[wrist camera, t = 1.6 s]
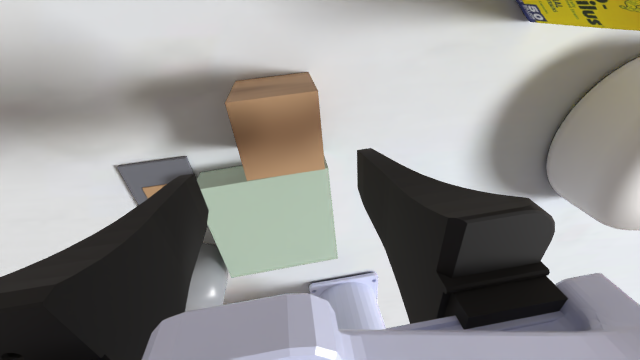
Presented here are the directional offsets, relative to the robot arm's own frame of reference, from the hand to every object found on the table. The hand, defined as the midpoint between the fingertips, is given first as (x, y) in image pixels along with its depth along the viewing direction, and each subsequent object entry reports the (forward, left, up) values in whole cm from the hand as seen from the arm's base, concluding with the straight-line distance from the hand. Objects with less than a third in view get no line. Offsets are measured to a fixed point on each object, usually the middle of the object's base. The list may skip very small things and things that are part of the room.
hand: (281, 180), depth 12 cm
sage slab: (-9, +2, -10) cm, 14 cm away
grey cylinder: (-14, +10, -9) cm, 20 cm away
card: (-6, +10, -9) cm, 15 cm away
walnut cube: (0, 0, -10) cm, 10 cm away
